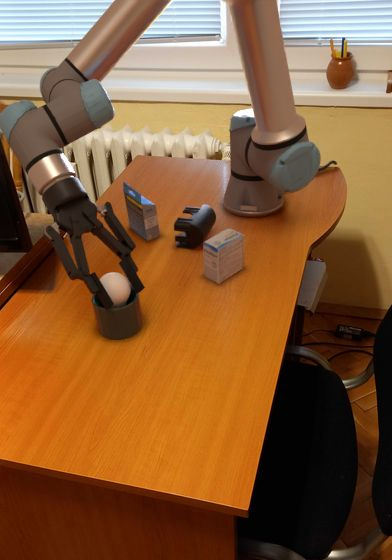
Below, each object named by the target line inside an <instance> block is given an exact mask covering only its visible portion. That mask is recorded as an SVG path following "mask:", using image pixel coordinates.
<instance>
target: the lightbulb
mask: <svg viewBox="0 0 392 560" xmlns="http://www.w3.org/2000/svg"><path fill="white" fill-rule="evenodd" d="M99 280H100V281H101V283H102V285H103V286H104V288H105V290H106V291H107V293H108V295H109V296H110V298H111V300H112V301H113V303H114V304H113V305H112V306H111V307H110V308H109V309H116V308H122V307H124V306H126V302H127V300H128V298H129V295H130V291H131V287H130V285H131V283H130V282H129V280H128V278H127V277H126V275H124V274H122V273H120V272H114V271H113V272H112V271H111V272H108V273H105V274H103V275H102V276H101V277H100V278H99Z"/></svg>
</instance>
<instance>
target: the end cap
mask: <svg viewBox="0 0 392 560" xmlns="http://www.w3.org/2000/svg"><path fill="white" fill-rule="evenodd" d="M182 214H187V215H191V216H190V217H189V216H188V217H181V216H179V217H177V218H176V220H175V221H174V223H173V231H174V232H182V234H180V233H179V234H174V241H175V242H176V244H175V246H176V248H179V249H185V250H196V249H197V248H199V247H200V246H201V245H203V243H204V242H205V241H206V238H207V236H208V235H209V233H210V232H211V230H212V229H213V227H214V225H215V224H216V222H217V214H216V212H215V210H214V209H213V208H212V207H211V206H210V205H208V204H205V203H203V204H202V205H201V207H196V206H185V207H184V209H183V210H182Z"/></svg>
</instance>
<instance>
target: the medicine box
mask: <svg viewBox="0 0 392 560" xmlns="http://www.w3.org/2000/svg"><path fill="white" fill-rule="evenodd" d="M202 246H203V247H202V248H203V263H204V264H203V266H204V268H203V269H204V277H205V278H207V279H208V280H210V281H212V282H214V283H215V284H218V285H220V284H221V283H223V282H224V281H226V280H228V279H230V278H231V277H232V276H234V275H235V274H237V273H238V272H240V271H241V270H243V269H244V261H245V260H244V259H245V257H244V256H245V254H244V253H245V234H243V233H241V232H239V231H237V230H234V229H233V228H229V227H228V228H226V229H225V230H223V231H220V232H219V233H217V234H215V235H214V236H211V237H210V238H209V239H207V240H204V241H203V243H202Z"/></svg>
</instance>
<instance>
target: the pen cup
mask: <svg viewBox="0 0 392 560" xmlns="http://www.w3.org/2000/svg"><path fill="white" fill-rule="evenodd" d="M130 287H131V291H130V295H129V298H128V300H127V302H126V306H124V307H122V308H116V309H107V310H106V309H105V307H104V306H103V304H102V302H101V301H100V299H99V297H98V296H97V294H96V293H95V294H91V305H92V309H93V314H94V318H95V323H96V327H97V331H98V333H99V334H100V335H101V336H102V337H103V338H105V339H108V340H113V341H115V340H116V341H119V340H120V341H121V340H125V339H129V338H131V337H133V336H135V335H137V334H138V333H139V332H140V331H141V330H142V328H143V325H144V319H143V313H142V306H141V299H140V292H139V293H136V292H135V290H134V288H133V287H132V285H131V284H130Z"/></svg>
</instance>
